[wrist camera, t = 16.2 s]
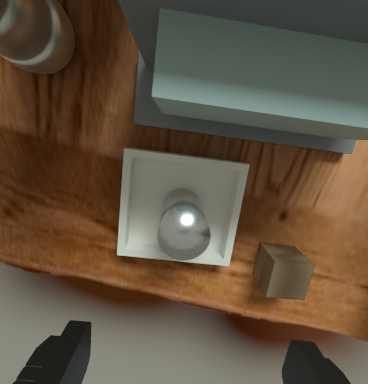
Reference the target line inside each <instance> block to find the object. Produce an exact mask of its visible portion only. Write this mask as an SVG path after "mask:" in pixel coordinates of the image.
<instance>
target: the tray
mask: <svg viewBox="0 0 368 384" xmlns="http://www.w3.org/2000/svg"><path fill="white" fill-rule="evenodd" d="M249 166H250V165H249V164H247V163H244V162H240V161H232V160H224V159H217V158H209V157H202V156H194V155H186V154H179V153H171V152H164V151H156V150H148V149H141V148H133V147H127V148H124V156H123V171H122V186H121V201H120V215H119V230H118V245H117V255H120V256H131V257H141V258H151V259H161V260H171V261H181V262H191V263H201V264H211V265H221V266H229V264H230V259H231V254H232V249H233V244H234V239H235V235H236V230H237V225H238V220H239V215H240V210H241V205H242V200H243V195H244V190H245V186H246V181H247V176H248V171H249ZM179 188H184V189H188V190H191V191H192V192H194V193H195V194H196V195H197V197H198V198H199V201H200V203H201V206H202V209H203V212H204V215H205V217H206V220H207V223H208V226H209V229H210V233H211V238H210V243H209V245H208V247H207V249H206V250H205V251H204V252H203V253H202V254H201V255H200V256H198V257H196V258H194V259H191V260H176V259H173V258H171V257H169V256H168V255H166V254H165V253H164V252H163V251H162V249H161V248H160V246H159V243H158V239H157V234H158V228H159V223H160V217H161V212H162V207H163V202H164V199H165V197H166V196H167V195H168V194H169V193H170V192H171V191H173V190H175V189H179Z"/></svg>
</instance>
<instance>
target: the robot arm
mask: <svg viewBox="0 0 368 384" xmlns="http://www.w3.org/2000/svg"><path fill="white" fill-rule="evenodd" d="M90 349H91V322H84V321H73V320H71V321H69V323H68V324H67V326H66V327H65V329H64V331H63V332H62V334H61V336H53V335H51V336H50V337H49V338H47V339H46V340H45V341H44V342H43V343H42V344H40V345H39V346H38V347H37V348H36V349H35V351H34V352H33V354H32V356H31V357H30V359H29V360H28V362H27V363H26V366H25V367H24V368H23V369H22V371H21V373H20V374H19V375H18V377H17V379H16V381H15V382H14V383H13V384H81V383H82V380H83V378H84V375H85V373H86V370H87V366H88V363H89V357H90ZM282 378H283V383H284V384H351V383H350V382H349V380H348V379H347V378H346V376H345V375H344V374H343V372H342V371H341V370H340V369H339V368H338V367H337V366H336V365H335V364H334V363H333V362H332V361H331V360H329V358H324V356H323V355H322V353H321V352H320V350H319V349H318V347H317V346H316V345H315V343H313V342H312V341H302V340H292V341H291V342H290V345H289V348H288V352H287V355H286V358H285V361H284V364H283V368H282Z"/></svg>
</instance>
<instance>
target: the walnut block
mask: <svg viewBox="0 0 368 384" xmlns="http://www.w3.org/2000/svg"><path fill="white" fill-rule="evenodd" d="M314 267H315V265H314V264H313V263H312V262H311V261H310V260H308V259H307V258H306V257H305V256H304V255H303V254H302V253H301V252H300V251H299V250H298V249H297V248H296V247H295V246H289V245H279V244H270V243H260V246H259V250H258V254H257V259H256V263H255V267H254V272H253V274H254V276H255V278H256V280H257V282H258V283H259V285H260V287H261V289H262V291H263V292H264V294H265V296H266V297H272V298H283V299H294V300H305V296H306V293H307V290H308V286H309V283H310V280H311V277H312V273H313V270H314Z"/></svg>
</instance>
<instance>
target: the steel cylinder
mask: <svg viewBox="0 0 368 384" xmlns="http://www.w3.org/2000/svg"><path fill="white" fill-rule="evenodd" d="M210 238H211V233H210V229H209V226H208V223H207V220H206V217H205V215H204V212H203V209H202V206H201V203H200V201H199V198H198V197H197V195H196V194H195V193H194V192H192V191H191V190H188V189H184V188H179V189H175V190H173V191H171V192H170V193H169V194H168V195H167V196H166V197H165V199H164V202H163V207H162V212H161V217H160V223H159V228H158V234H157V239H158V243H159V246H160V248H161V249H162V251H163V252H164V253H165V254H166V255H168V256H169V257H171V258H173V259H176V260H191V259H194V258H196V257H198V256H200V255H201V254H202V253H203V252H204V251H205V250H206V249H207V247H208V245H209V243H210Z"/></svg>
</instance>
